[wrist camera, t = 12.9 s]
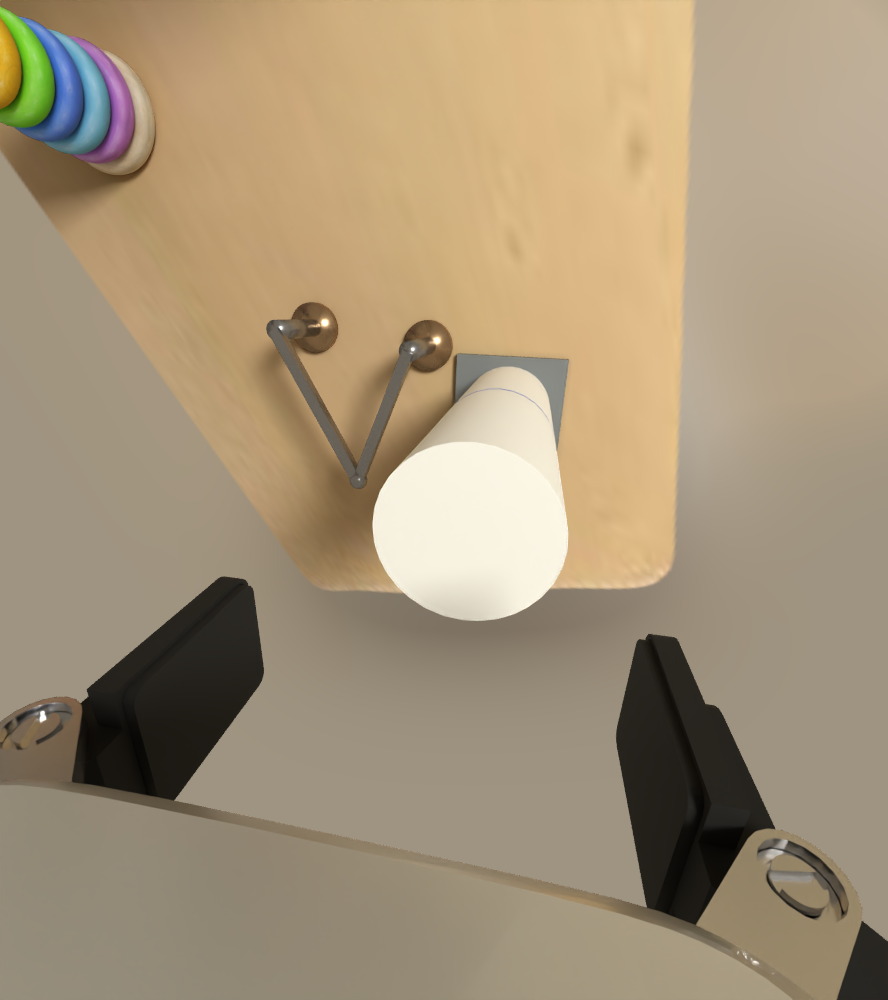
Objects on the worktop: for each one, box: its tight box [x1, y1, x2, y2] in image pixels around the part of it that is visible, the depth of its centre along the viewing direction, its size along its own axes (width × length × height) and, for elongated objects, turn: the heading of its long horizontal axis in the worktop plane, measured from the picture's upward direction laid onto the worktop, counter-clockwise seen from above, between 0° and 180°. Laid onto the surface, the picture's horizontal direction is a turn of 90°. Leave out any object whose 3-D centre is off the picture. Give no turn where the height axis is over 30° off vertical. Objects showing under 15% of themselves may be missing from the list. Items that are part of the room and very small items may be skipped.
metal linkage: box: [266, 302, 453, 489], centre depth 39 cm, size 14×14×8 cm
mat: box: [455, 353, 569, 450], centre depth 41 cm, size 9×9×1 cm
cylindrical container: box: [372, 367, 568, 621], centre depth 29 cm, size 7×7×25 cm
